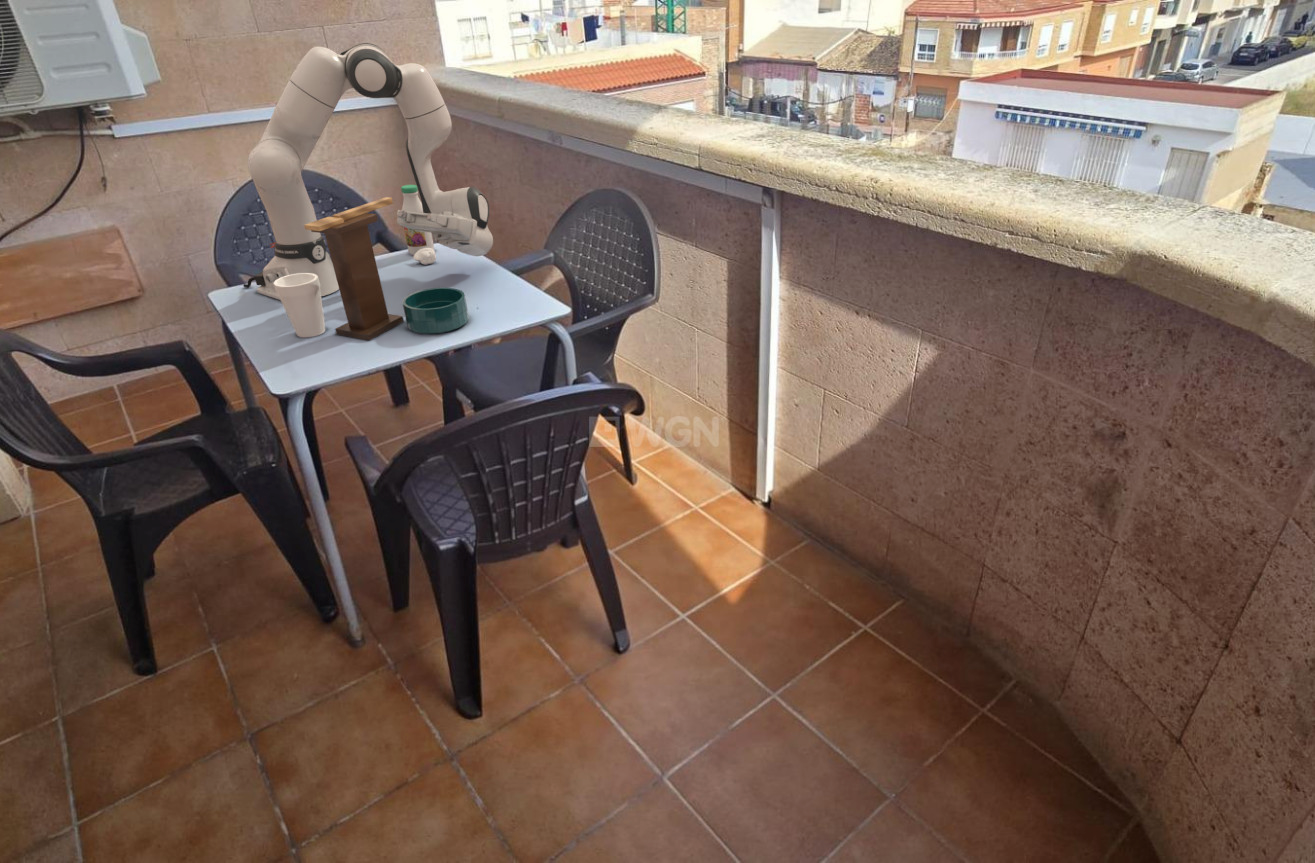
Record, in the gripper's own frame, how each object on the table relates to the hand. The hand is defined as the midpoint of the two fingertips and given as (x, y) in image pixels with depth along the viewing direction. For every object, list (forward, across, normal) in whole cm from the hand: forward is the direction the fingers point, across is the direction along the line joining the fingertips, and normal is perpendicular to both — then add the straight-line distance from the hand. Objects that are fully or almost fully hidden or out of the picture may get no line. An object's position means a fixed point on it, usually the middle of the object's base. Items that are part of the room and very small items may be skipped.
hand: (414, 214), depth 182 cm
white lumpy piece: (-30, -20, +7) cm, 37 cm away
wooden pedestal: (+9, 0, +30) cm, 31 cm away
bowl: (+2, +14, +26) cm, 29 cm away
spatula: (+19, 0, +6) cm, 20 cm away
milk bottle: (-37, -28, +3) cm, 47 cm away
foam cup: (+14, -12, +34) cm, 38 cm away
